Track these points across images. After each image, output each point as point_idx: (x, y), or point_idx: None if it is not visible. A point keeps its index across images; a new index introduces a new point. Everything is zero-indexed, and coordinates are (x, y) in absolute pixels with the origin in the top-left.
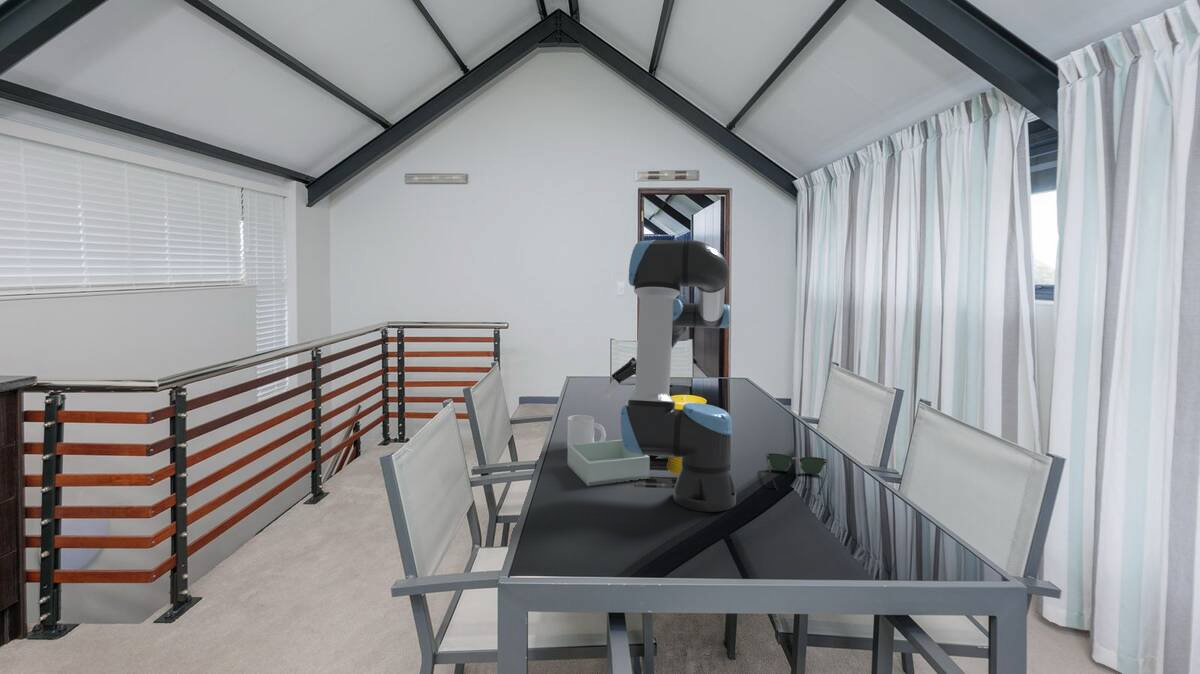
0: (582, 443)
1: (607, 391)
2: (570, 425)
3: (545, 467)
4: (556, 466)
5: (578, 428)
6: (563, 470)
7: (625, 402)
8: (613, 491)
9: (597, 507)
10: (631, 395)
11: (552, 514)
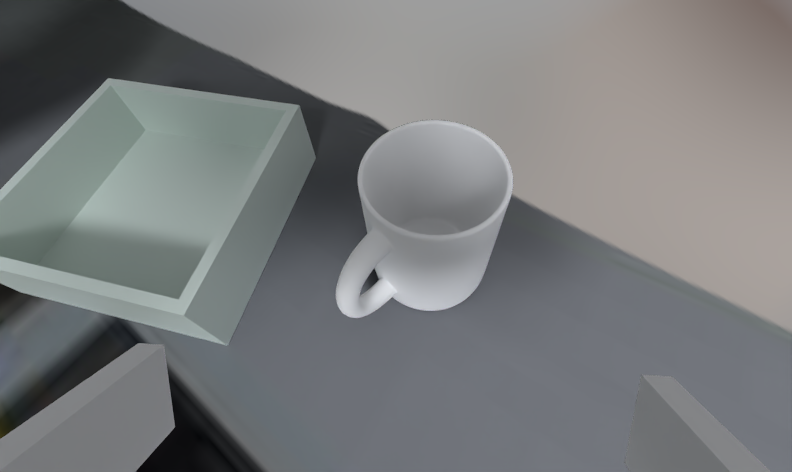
0: (274, 145)
1: (681, 447)
2: (422, 140)
3: (339, 110)
4: (327, 133)
5: (382, 163)
6: None
7: (149, 344)
8: None
9: (52, 96)
10: (44, 411)
11: (112, 36)
